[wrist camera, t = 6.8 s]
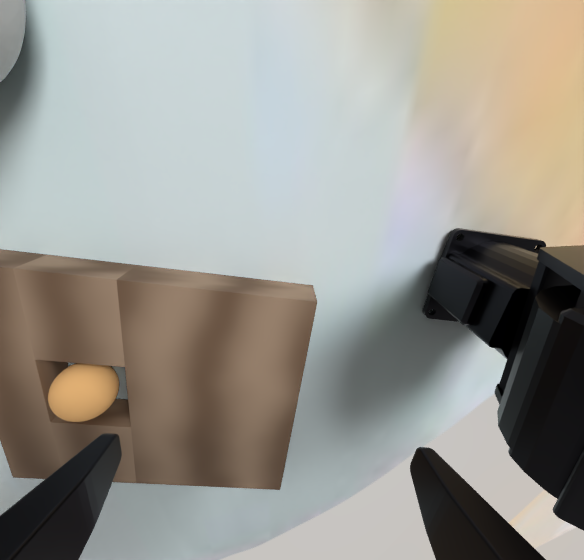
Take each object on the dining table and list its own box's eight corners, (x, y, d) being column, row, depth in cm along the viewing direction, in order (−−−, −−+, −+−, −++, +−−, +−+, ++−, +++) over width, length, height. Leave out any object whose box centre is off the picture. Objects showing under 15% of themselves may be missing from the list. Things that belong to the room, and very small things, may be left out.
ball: (49, 355, 20) (116, 344, 22) (61, 398, 21) (122, 385, 23) (33, 397, 17) (113, 379, 18) (48, 444, 18) (121, 424, 20)
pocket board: (312, 285, 20) (317, 301, 17) (279, 461, 26) (280, 489, 24) (-18, 247, 18) (-62, 259, 15) (38, 447, 24) (13, 477, 22)
